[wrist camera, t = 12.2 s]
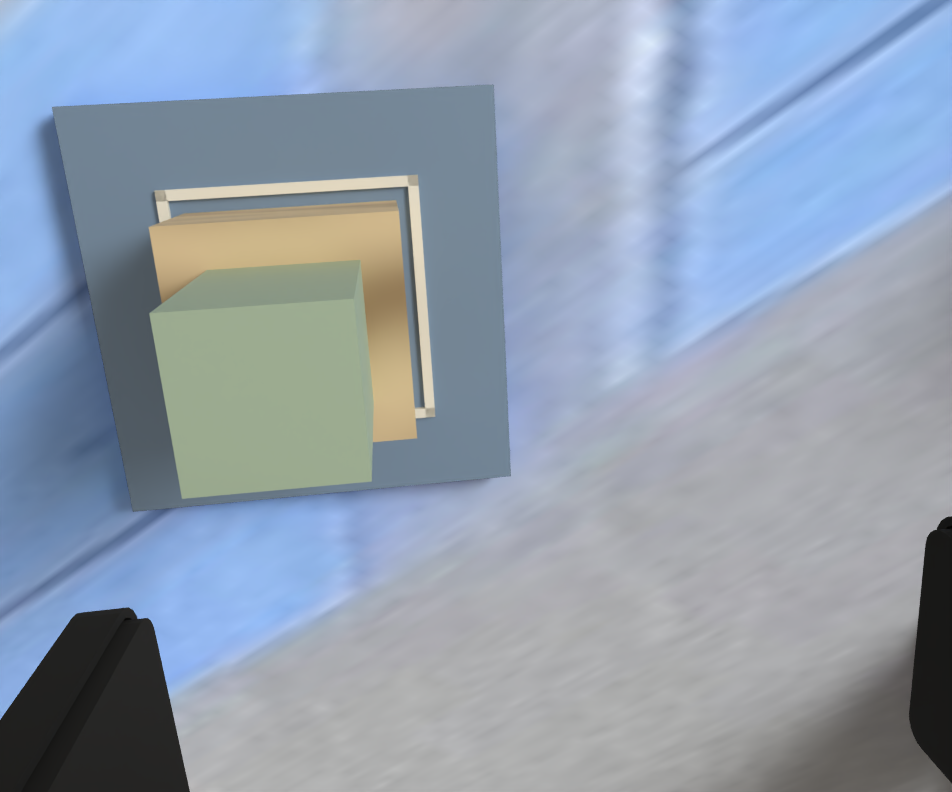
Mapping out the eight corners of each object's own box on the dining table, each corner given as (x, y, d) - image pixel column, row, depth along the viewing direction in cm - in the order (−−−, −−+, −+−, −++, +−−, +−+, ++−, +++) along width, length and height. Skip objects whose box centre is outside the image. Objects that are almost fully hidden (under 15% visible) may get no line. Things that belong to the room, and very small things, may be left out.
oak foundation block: (412, 396, 34) (417, 438, 29) (216, 413, 33) (188, 458, 29) (396, 200, 32) (398, 210, 27) (184, 213, 31) (148, 226, 26)
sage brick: (373, 402, 29) (371, 481, 22) (228, 414, 28) (182, 498, 22) (360, 259, 27) (353, 298, 20) (206, 270, 27) (149, 313, 20)
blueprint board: (506, 465, 37) (511, 477, 35) (140, 499, 35) (131, 513, 34) (489, 86, 32) (494, 84, 30) (64, 108, 30) (49, 106, 29)
